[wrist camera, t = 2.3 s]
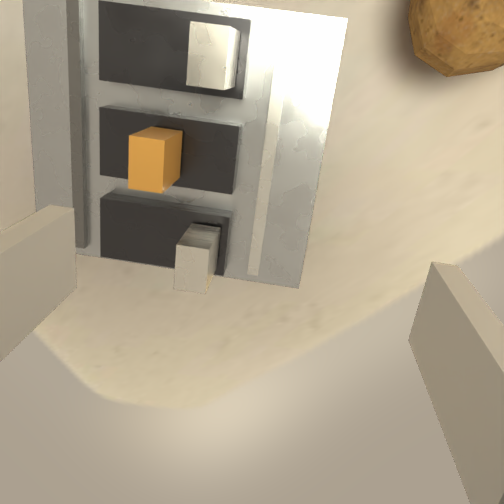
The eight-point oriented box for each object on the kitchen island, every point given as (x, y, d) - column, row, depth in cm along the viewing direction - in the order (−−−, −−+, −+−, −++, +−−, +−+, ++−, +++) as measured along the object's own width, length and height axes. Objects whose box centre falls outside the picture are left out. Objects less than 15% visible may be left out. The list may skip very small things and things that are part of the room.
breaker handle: (149, 173, 30) (128, 188, 26) (151, 126, 29) (128, 135, 25) (179, 177, 30) (162, 193, 26) (182, 130, 29) (164, 140, 25)
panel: (51, 238, 37) (-10, 280, 30) (38, -18, 30) (-46, -44, 23) (299, 277, 36) (297, 330, 29) (344, 21, 29) (358, 7, 22)
